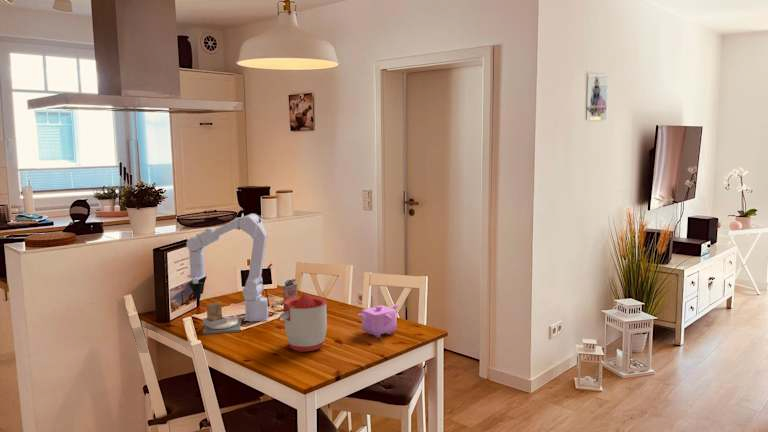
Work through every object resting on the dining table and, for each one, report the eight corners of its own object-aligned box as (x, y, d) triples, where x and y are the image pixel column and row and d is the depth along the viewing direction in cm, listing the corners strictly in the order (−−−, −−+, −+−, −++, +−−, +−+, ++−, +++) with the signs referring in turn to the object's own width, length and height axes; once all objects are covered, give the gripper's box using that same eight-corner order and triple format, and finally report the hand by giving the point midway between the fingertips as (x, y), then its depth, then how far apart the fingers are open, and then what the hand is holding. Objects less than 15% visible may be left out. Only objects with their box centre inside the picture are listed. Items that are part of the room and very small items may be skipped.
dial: (227, 317, 250) (226, 310, 250) (243, 323, 242) (243, 315, 242) (199, 325, 241) (199, 317, 241) (215, 331, 233) (215, 323, 233)
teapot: (366, 326, 241) (366, 299, 240) (399, 327, 239) (399, 301, 237) (357, 339, 227) (357, 311, 225) (392, 341, 224) (392, 312, 222)
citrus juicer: (274, 345, 221) (272, 292, 218) (318, 336, 229) (316, 285, 227) (289, 358, 208) (287, 302, 205) (335, 349, 216) (333, 295, 213)
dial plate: (241, 320, 250) (241, 318, 250) (239, 331, 236) (239, 329, 236) (207, 322, 248) (207, 320, 248) (202, 334, 234) (202, 331, 234)
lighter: (286, 303, 275) (286, 282, 274) (281, 302, 277) (280, 281, 276) (299, 299, 282) (298, 278, 280) (294, 298, 284) (293, 277, 282)
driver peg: (215, 321, 242) (214, 302, 241) (222, 323, 240) (221, 303, 238) (207, 324, 238) (206, 304, 237) (214, 325, 236) (213, 306, 235)
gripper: (190, 261, 259) (191, 292, 260) (184, 268, 244) (186, 301, 246) (206, 260, 260) (208, 291, 261) (202, 268, 245) (203, 300, 247)
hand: (198, 296), depth 254 cm, fingers open, 7 cm apart
